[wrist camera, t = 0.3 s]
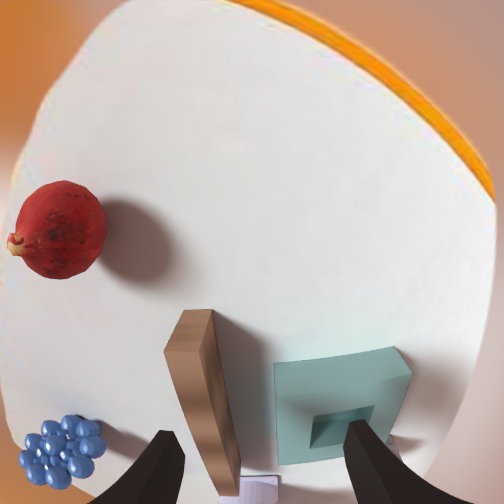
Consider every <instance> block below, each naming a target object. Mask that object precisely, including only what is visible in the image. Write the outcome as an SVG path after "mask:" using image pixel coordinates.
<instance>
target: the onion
mask: <svg viewBox="0 0 504 504" xmlns="http://www.w3.org/2000/svg"><path fill="white" fill-rule="evenodd" d="M106 233H107V229H106V215H105V213H104V211H103V209H102V207H101V205H100V203H99V201H98V199H97V198H96V197H95V196H94V195H93V194H92V193H91V192H90V191H89V190H88V189H87V188H86V187H84V186H81V185H78V184H75V183H73V182H69V181H66V180H63V181H57V182H53V183H50V184H46V185H43V186H42V187H40V188H39V189H37V190H36V191H35V192H34V193H33V194H32V195H30V196H29V197H28V198H27V199H26V201H25V202H24V203H23V205H22V208H21V210H20V213H19V215H18V218H17V222H16V232H15V234H14V233H10V234H9V237H8V241H7V248H8V249H9V250H10V252H11V253H12V255H13V256H16V255H17V256H20V257H22V258H23V260H24V261H25V263H26V264H27V266H28V267H29V268H30V269H32V270H33V271H35V272H36V273H38V274H39V275H41V276H43V277H46V278H50V279H68V278H70V277H72V276H75V275H77V274H80V273H82V272H85V271H86V270H87V269H88V268H89V267H90V266H91V265H92V263H93V262H94V261H95V260H96V258H97V257H98V256H99V255H100V253H101V250H102V247H103V243H104V240H105V237H106Z"/></svg>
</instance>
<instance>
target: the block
mask: <svg viewBox="0 0 504 504" xmlns="http://www.w3.org/2000/svg"><path fill="white" fill-rule="evenodd" d="M412 373H413V372H412V371H411V369H410V368H409V367H408V365H407V364H406V362H405V361H404V360H403V358H402V357H401V355H400V354H399V353H398V351H397V350H396V348H395V347H394V346H392V347H388V348H383V349H377V350H372V351H367V352H361V353H355V354H349V355H342V356H335V357H328V358H320V359H312V360H303V361H293V362H282V363H274V383H275V408H276V436H277V451H278V465H290V464H300V463H308V462H315V461H322V460H328V459H334V458H339V457H344V451H343V445H344V441H345V438H346V434H347V430H348V426H349V422H351V421H356V420H360V419H365V420H366V422H367V423H368V424H369V426H370V427H371V428H372V429H373V431H374V432H375V433H376V434H377V436H378V437H379V438H380V439H381V440H382V441H383V443H384V444H385V443H386V440H387V438H388V436H389V434H390V432H391V429H392V427H393V425H394V422H395V420H396V417H397V415H398V413H399V410H400V407H401V405H402V402H403V399H404V397H405V394H406V391H407V388H408V385H409V382H410V379H411V376H412Z"/></svg>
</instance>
